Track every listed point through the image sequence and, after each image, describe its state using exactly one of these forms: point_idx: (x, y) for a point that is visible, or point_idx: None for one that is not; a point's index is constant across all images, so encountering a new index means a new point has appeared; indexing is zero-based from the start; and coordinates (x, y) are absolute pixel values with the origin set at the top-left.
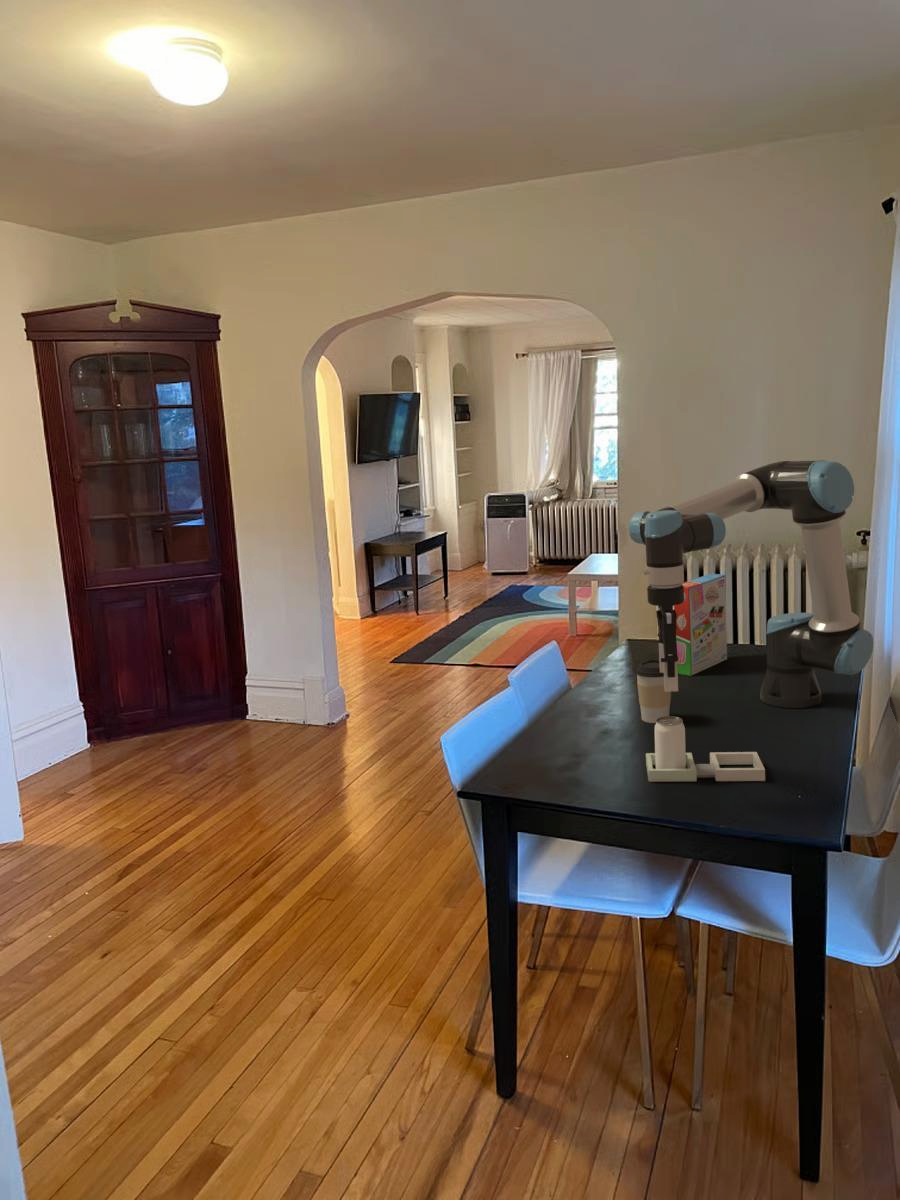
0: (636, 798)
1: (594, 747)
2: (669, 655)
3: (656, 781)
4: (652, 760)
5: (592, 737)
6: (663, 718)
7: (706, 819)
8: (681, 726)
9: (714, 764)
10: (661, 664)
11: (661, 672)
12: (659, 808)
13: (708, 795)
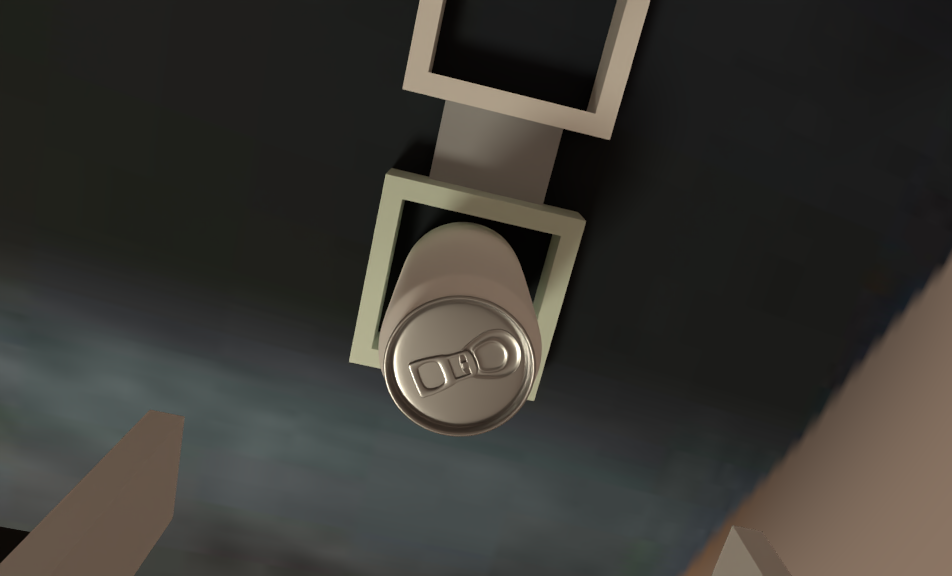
0: (653, 454)
1: None
2: (84, 558)
3: None
4: (376, 332)
5: (33, 467)
6: (392, 378)
7: (892, 288)
8: (516, 310)
9: (546, 121)
10: (135, 561)
11: (173, 507)
12: (754, 407)
13: (714, 213)
